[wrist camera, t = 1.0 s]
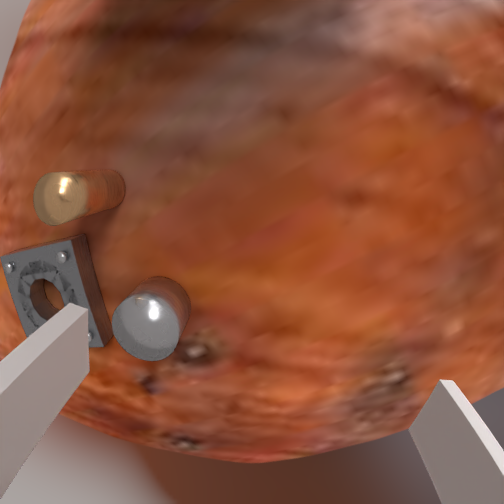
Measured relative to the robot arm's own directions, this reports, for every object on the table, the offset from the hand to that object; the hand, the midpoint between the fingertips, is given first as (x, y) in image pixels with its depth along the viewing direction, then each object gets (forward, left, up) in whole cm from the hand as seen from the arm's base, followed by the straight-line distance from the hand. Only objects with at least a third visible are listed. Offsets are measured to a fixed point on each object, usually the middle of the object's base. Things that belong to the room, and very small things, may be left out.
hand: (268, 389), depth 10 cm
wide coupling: (+5, -12, -21) cm, 25 cm away
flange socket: (+2, -25, -21) cm, 33 cm away
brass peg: (-8, -15, -21) cm, 27 cm away
